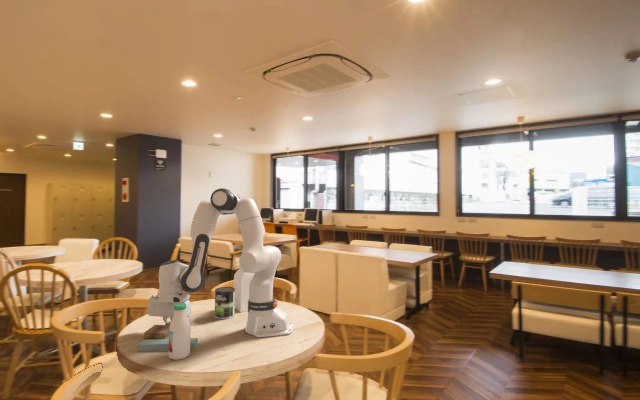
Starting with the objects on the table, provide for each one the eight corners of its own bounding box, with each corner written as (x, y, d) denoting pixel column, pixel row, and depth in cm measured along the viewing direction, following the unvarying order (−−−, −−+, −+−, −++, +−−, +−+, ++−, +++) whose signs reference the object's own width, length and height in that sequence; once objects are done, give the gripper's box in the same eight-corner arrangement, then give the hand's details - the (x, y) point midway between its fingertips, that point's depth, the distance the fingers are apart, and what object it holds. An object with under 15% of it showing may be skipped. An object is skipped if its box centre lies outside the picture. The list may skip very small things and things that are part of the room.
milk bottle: (193, 351, 130) (193, 301, 130) (185, 360, 122) (186, 307, 122) (173, 351, 129) (174, 301, 129) (165, 360, 122) (165, 307, 122)
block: (174, 336, 144) (174, 325, 144) (164, 345, 135) (164, 333, 135) (154, 335, 144) (155, 324, 144) (143, 344, 135) (143, 332, 135)
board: (197, 344, 136) (197, 337, 136) (194, 350, 131) (194, 343, 131) (143, 346, 134) (143, 339, 134) (137, 352, 129) (137, 344, 129)
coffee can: (227, 320, 163) (227, 292, 163) (210, 317, 166) (210, 290, 167) (238, 313, 173) (238, 287, 173) (222, 311, 176) (222, 285, 176)
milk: (259, 308, 182) (260, 262, 182) (240, 312, 175) (241, 264, 175) (250, 303, 192) (251, 259, 192) (232, 306, 185) (232, 261, 185)
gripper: (144, 296, 147) (144, 327, 147) (185, 299, 143) (184, 330, 143) (153, 293, 153) (153, 322, 153) (193, 295, 149) (193, 325, 149)
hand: (169, 326), depth 148 cm, fingers closed
